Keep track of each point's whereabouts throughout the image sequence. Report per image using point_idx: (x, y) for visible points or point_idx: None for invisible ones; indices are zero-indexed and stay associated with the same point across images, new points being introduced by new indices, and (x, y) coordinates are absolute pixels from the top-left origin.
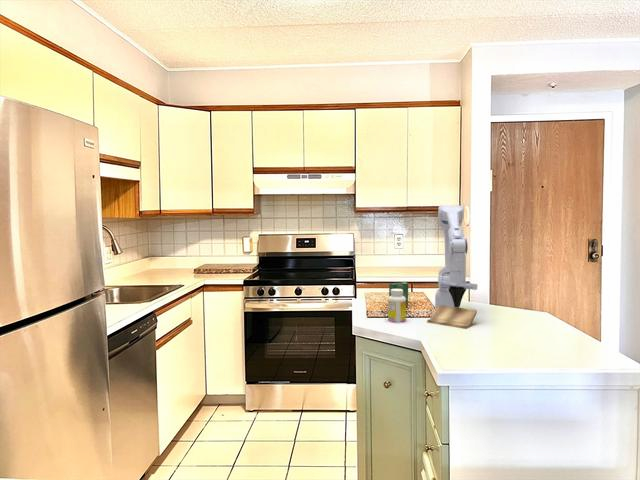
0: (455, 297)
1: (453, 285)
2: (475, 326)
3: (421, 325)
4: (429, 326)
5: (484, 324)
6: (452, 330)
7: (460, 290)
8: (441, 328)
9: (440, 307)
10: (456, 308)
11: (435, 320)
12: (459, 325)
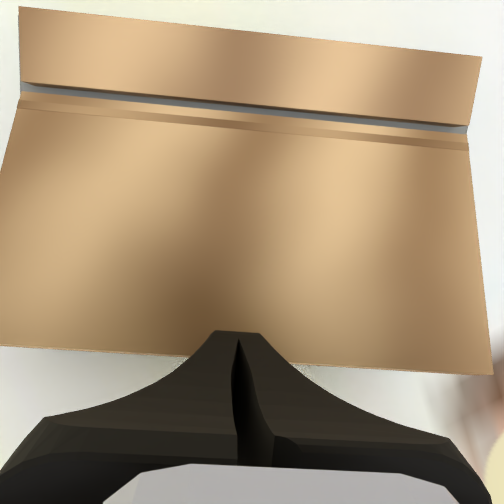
0: (250, 404)
1: (262, 477)
2: None
3: (499, 33)
4: (419, 38)
5: (20, 375)
6: (178, 10)
7: (22, 456)
8: (295, 27)
9: (446, 329)
10: None
11: (395, 82)
12: (99, 15)
